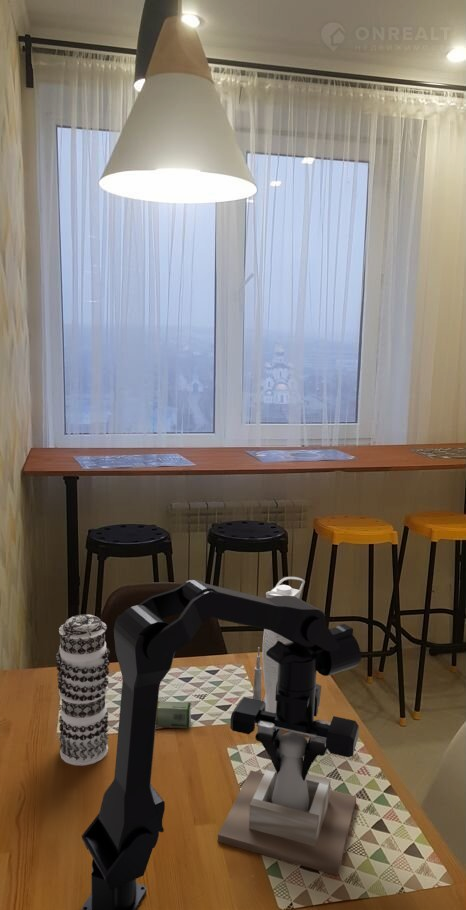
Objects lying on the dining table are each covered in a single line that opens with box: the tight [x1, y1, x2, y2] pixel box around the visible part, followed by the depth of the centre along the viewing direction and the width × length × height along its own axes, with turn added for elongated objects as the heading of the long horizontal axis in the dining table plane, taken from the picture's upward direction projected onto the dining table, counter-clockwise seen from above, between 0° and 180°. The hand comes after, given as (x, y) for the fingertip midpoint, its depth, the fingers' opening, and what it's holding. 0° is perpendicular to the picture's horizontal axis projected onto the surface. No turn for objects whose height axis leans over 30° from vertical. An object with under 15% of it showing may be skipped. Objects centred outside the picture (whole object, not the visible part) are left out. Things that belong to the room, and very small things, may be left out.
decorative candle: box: [55, 613, 111, 767], centre depth 119 cm, size 9×9×25 cm
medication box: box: [156, 700, 192, 728], centre depth 131 cm, size 12×3×4 cm, turn 87°
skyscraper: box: [252, 576, 306, 713], centre depth 133 cm, size 8×8×28 cm
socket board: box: [217, 764, 357, 877], centre depth 105 cm, size 16×18×5 cm
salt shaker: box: [272, 731, 309, 812], centre depth 104 cm, size 6×6×13 cm
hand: (291, 776), depth 104 cm, fingers closed on salt shaker, 3 cm apart
